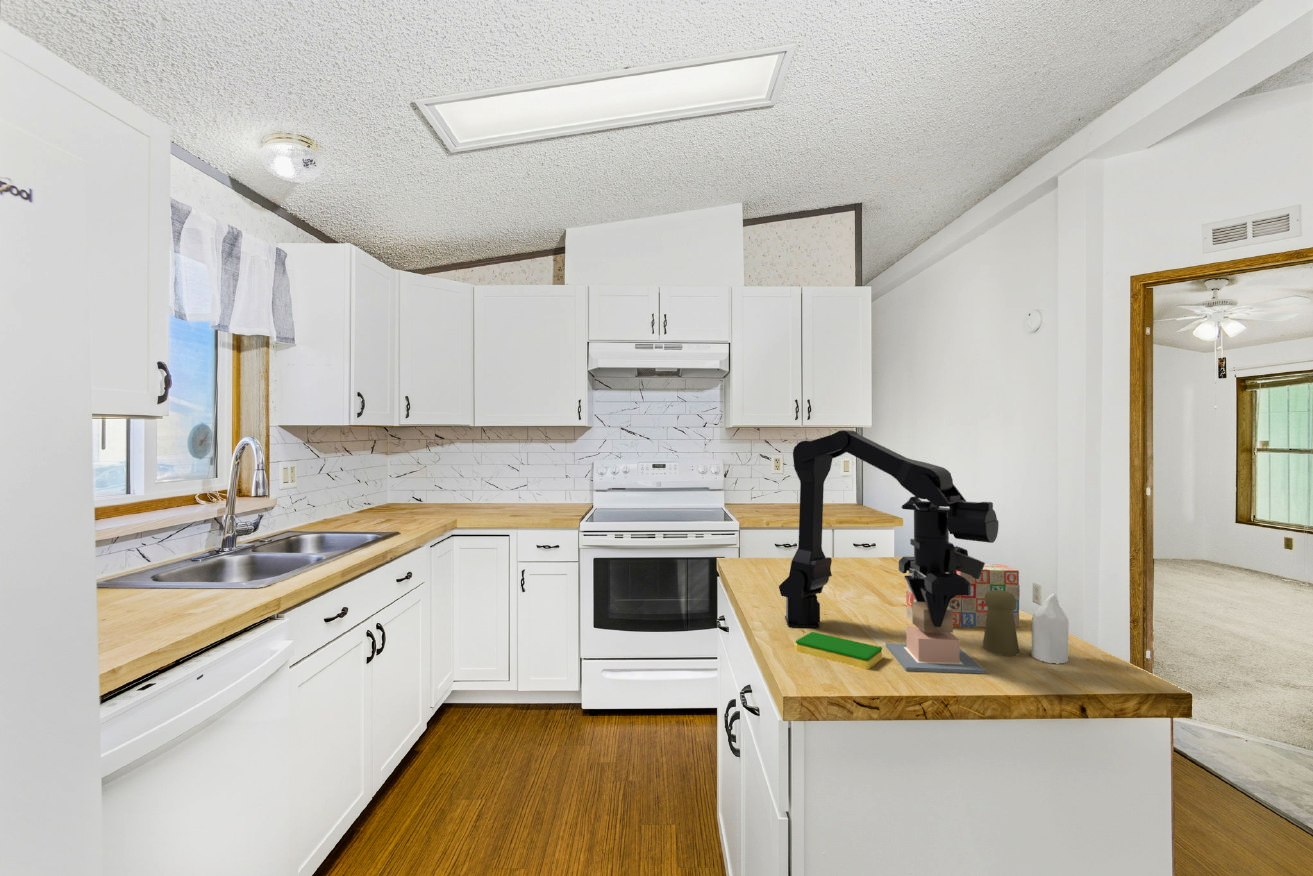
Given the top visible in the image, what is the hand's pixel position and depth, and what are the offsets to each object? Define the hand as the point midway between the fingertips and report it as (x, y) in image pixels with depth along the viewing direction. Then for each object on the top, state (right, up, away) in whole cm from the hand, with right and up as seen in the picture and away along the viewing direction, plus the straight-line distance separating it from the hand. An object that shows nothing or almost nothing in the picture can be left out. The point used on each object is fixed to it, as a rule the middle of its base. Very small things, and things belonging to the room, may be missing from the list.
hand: (931, 622), depth 104 cm
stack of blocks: (+17, -7, +21) cm, 28 cm away
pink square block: (0, -6, 0) cm, 6 cm away
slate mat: (0, -7, 0) cm, 7 cm away
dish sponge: (-16, -8, +3) cm, 18 cm away
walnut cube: (0, -1, 0) cm, 1 cm away
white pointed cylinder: (+21, -7, 0) cm, 23 cm away
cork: (+15, -7, +4) cm, 17 cm away
